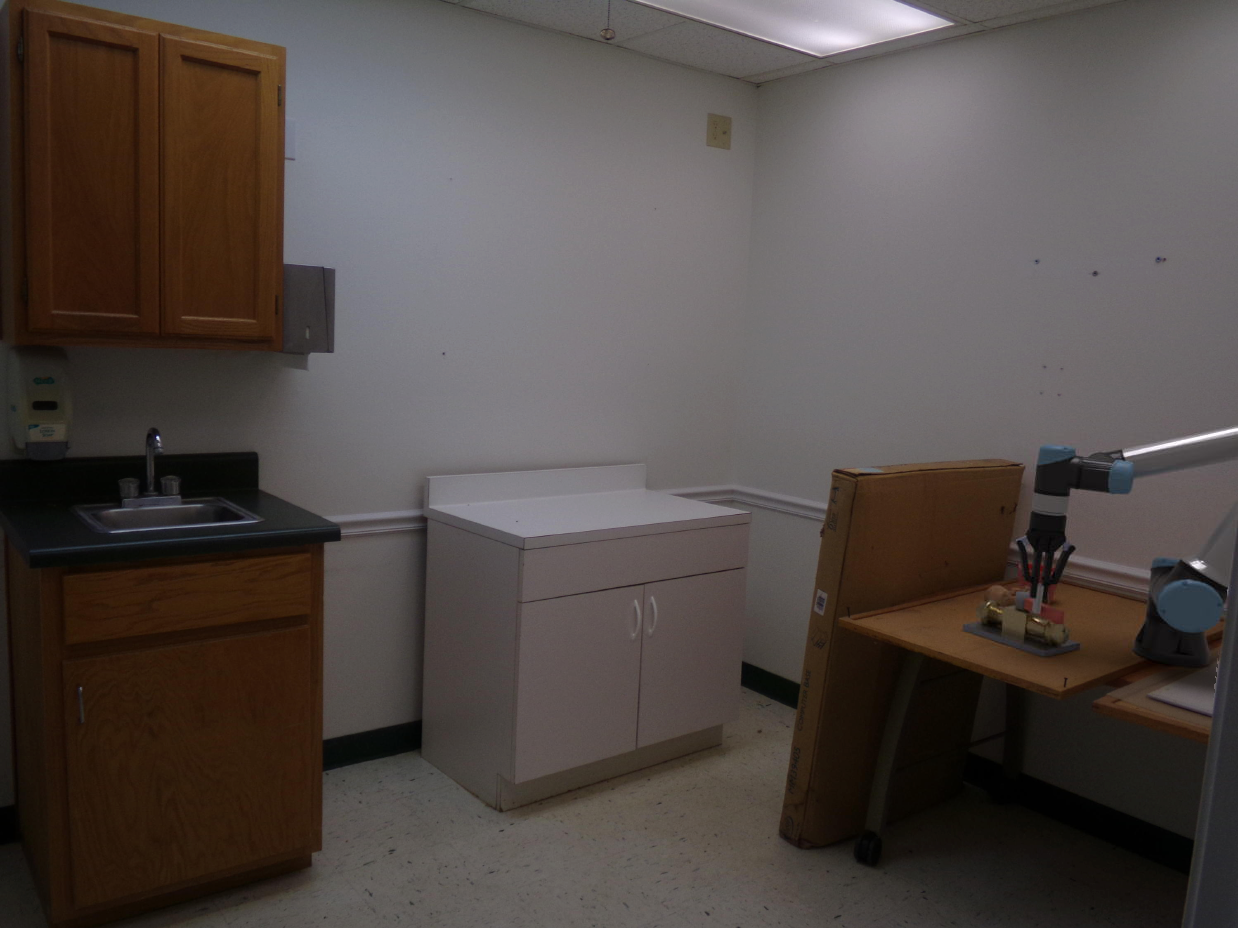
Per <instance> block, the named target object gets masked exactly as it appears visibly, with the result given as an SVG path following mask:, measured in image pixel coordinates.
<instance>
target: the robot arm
mask: <svg viewBox="0 0 1238 928" xmlns="http://www.w3.org/2000/svg"><path fill="white" fill-rule="evenodd" d="M1076 450H1077V449H1076V448H1075V447H1074V446H1072V445H1071V446H1070V445H1063V444H1062V445H1061V444H1053V443H1051V444H1049V443H1046V444H1043V445H1041V446H1040V447H1039V451H1038V456H1037V462H1036V468H1035V475H1034V476H1035V477H1034V485H1033V496H1032V500H1031V501H1032V502H1031V509H1032V510H1031V512H1030V514H1029V515H1030V517H1029V525H1028V529H1027V531H1026V533H1025V535H1024V536H1022V537H1020V538H1018V537H1017V538H1015V539H1014V543H1015V544H1016V546H1017V548H1018V552H1019V558H1020V559H1019V560H1020V564H1021V568H1022V574H1023V578H1024V579H1025V580H1026V581H1027V582H1030V583H1031V586H1030V597H1031V598H1034V599H1033V607H1032V611H1033V612H1034V613H1035V614H1040V612H1041V604H1042V599H1045V600H1046V599H1047V594H1048V587H1049V586H1050V585H1053V584H1054V585H1056V584H1057V585H1058V584H1059V582H1060V579H1061V577H1062V575H1063V572H1064V570H1065V568H1066V565H1067V563H1068V561H1069V558H1070V557H1071V555H1072V554H1073V553H1074V552H1075V551H1076V550H1077V548H1076V546H1075V545H1074V544H1073V543H1071V542H1069V541H1068V540H1067V536H1066V526H1067V519H1068V517H1067V515H1066V514H1067V513H1068V512H1069V511H1068V510H1069V504H1070V496H1071V495H1070V494H1071V490H1072V489H1073V490H1077V491H1078V490H1082V491H1091V492H1097V493H1105V494H1111V495H1129V494H1130V493H1131V492H1132V490H1133V484H1134V480H1136V479H1137V480H1138V479H1143V478H1147V477H1152V476H1159V475H1163V474H1169V473H1173V472H1179V471H1184V470H1189V469H1190V470H1191V469H1194V468H1201V467H1206V466H1210V465H1211V466H1212V465H1215V464H1220V463H1225V462H1227V463H1228V462H1232V461H1237V460H1238V424H1234V425H1230V426H1224V427H1220V428H1215V429H1209V430H1204V431H1201V432H1196V433H1191V434H1187V435H1182V436H1177V437H1172V438H1167V439H1162V440H1158V441H1153V442H1149V443H1148V442H1147V443H1142V444H1138V445H1135V446H1130V447H1124V448H1121V449H1116V450H1115V449H1114V450H1111V451H1105V452H1102V451H1099V452H1094V453H1092V454H1090V455H1088V456H1081V455H1077V452H1076ZM1237 514H1238V497H1236V499H1235V500H1234V502H1233V503H1232V504H1231V505H1230V507H1229V508H1228V509H1227V511H1225V513H1224V514H1223V516H1222V518H1221V519H1220V520H1218V523H1217V524H1216V525H1215V527H1214V528H1213V529H1212V531H1210V533H1209V534H1208V535H1207V537H1206V538H1205V539H1204V541H1203V542H1202V544H1201V545H1200V546H1199V548H1197V550H1196V551H1195V552H1194V554H1192V555H1188V556H1182V557H1181V558H1173V557H1159V556H1158V557H1155V558H1153V560H1152V562H1151V567H1150V568H1149V569H1150V578H1149V587H1148V592H1147V594H1148V595H1147V603H1146V612H1145V620H1144V621H1143V623H1142V625H1141V627H1140V629H1139V631H1138V633H1137V635H1136V636H1135V639H1134V641H1133V652H1134V653H1135V654H1137V655H1139V656H1141V657H1143V658H1145V659H1148V660H1151V661H1155V662H1158V663H1161V664H1162V663H1163V664H1167V665H1172V666H1178V667H1187V668H1188V667H1189V668H1190V667H1192V668H1195V667H1196V668H1197V667H1198V668H1199V667H1205V666H1208V665H1209V664H1210V656H1211V655H1210V647H1209V645H1208V641H1207V637H1206V633H1205V631H1208V630H1210V629H1212V628H1214V627H1215V626H1216V625H1217V624H1218V623H1219V622H1220V620H1221V618H1222V617H1223V613H1224V609H1225V607H1224V606H1225V605H1226V603H1227V602H1226V599H1227V589H1228V581H1229V572H1230V567H1231V558H1232V553H1233V547H1234V539H1235V527H1236V517H1237ZM1028 543H1029V544H1030V547H1032V549H1033V556H1032V557H1033V558H1032V564H1033V565H1032V574H1031V576H1030V571H1029V564H1028V563H1029V559H1028V552H1027V548H1026V547H1027V546H1028ZM1060 548H1062V551H1061V552H1060V554H1059V557H1058V560H1057V562H1056V564H1055V565H1054V568H1055V569H1054V571H1053V573H1052V576H1051V570H1052V567H1053V563H1054V562H1053V561H1054V557H1055V553H1056V552H1057V551H1058V550H1059V549H1060ZM1043 554H1044V560H1043V561H1044V562H1043V565H1044V566H1043V573H1042V580H1041V582H1042V584H1039V576H1040V567H1041V565H1042V558H1043ZM1050 577H1051V578H1050Z"/></svg>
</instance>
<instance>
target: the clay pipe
mask: <svg viewBox="0 0 1238 928" xmlns="http://www.w3.org/2000/svg"><path fill="white" fill-rule="evenodd" d="M1016 592H1028V593H1030V587H1028V586H1023V587H1021V589H1020V587H1012V588H1010V589H1009V590H1008V589H1006V587H1004V586H1002V585H999V584H997V585H995V584H994V585H992V586H989V587H988V588H987V589H986V591H985V593H984V596H983V599H984V602H987V601H988V600H993V601H996V602H998V603H999V604H1000V607H1003V608H1004V607H1009V606H1014V605H1015V599H1016ZM1032 599H1034V598H1032ZM1042 603H1044V604H1046V605H1048V606H1050V604H1049V595H1048V594H1047V599H1046V600H1045V599H1042ZM1041 619H1044V620H1047V619H1045V618H1043V617H1041ZM1047 621H1048V620H1047Z"/></svg>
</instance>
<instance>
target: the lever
mask: <svg viewBox="0 0 1238 928" xmlns="http://www.w3.org/2000/svg"><path fill="white" fill-rule="evenodd" d="M1032 607H1033V599H1032V598H1031V597H1030V593H1028V592H1016V599H1015V608H1017V609H1021V610H1029V611H1031V612H1033V611H1032ZM1033 613H1034V612H1033ZM1037 615H1039V616H1041V617H1043V618H1045V619H1047V621H1051V622H1052V623H1054V624H1063V623H1064V622H1065V621H1064V619H1065V611H1063V610H1061V609H1060V610H1059V609H1056V608H1055V607H1052V606H1050V605H1049V606H1048V605H1046V604H1044V603H1042V604H1041V612H1040V614H1037Z"/></svg>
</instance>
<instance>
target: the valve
mask: <svg viewBox="0 0 1238 928" xmlns="http://www.w3.org/2000/svg"><path fill="white" fill-rule="evenodd" d="M975 614H976V618H978V619H979V620H980V621H979V620H978V621H975V622H969V623H964V624H962V631H964V632H967V633H968V634H969V633H970V634H973V635H976V636H979V637H982V638H984V639H987V638H988V639H987V640H990V639H991V641H994V642H996V641H997V643H1000V644H1002V643H1003V645H1006V646H1009V647H1012V648H1014V649H1018V650H1021V651H1024V652H1027V653H1030V654H1032V655H1036V656H1038V657H1043V658H1048V657H1051V656H1055V655H1060V654H1064V653H1068V652H1071V651H1072V652H1073V651H1077V650H1080V649H1081V642H1079V641H1077V640H1073V639H1069V638H1070V635H1071V631H1070V627H1068V626H1066V625H1065V623H1064V622H1063V624H1054V623H1052V622H1051V621H1049V620H1044V619H1041V616H1039V615H1037V614H1035V613H1033V612H1031V611H1029V610H1021V609H1017V608H1015V605H1014V606H1009V607H1004V608H1003V607H1000V604H999V603H998V602H996V601H993V600H988V601H987V602H985V601H982V602H980V603H979V604H978V606H977V607H976V613H975Z"/></svg>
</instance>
